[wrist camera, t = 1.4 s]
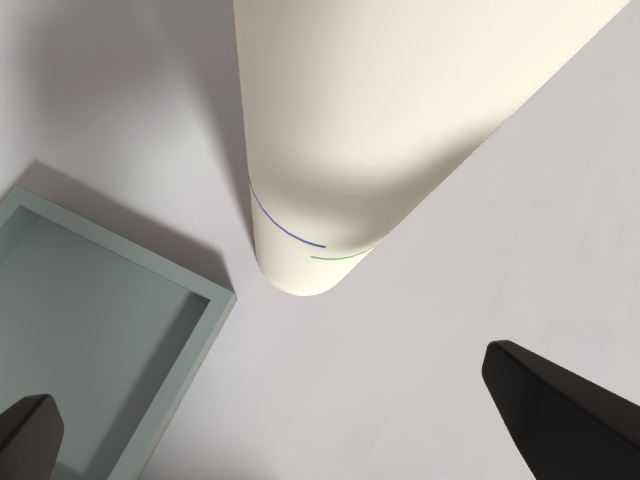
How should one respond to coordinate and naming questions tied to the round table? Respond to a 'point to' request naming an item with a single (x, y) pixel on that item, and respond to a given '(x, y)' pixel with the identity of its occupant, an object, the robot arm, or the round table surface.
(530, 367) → the robot arm
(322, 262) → the cylindrical container
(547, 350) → the round table surface
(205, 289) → the tray
